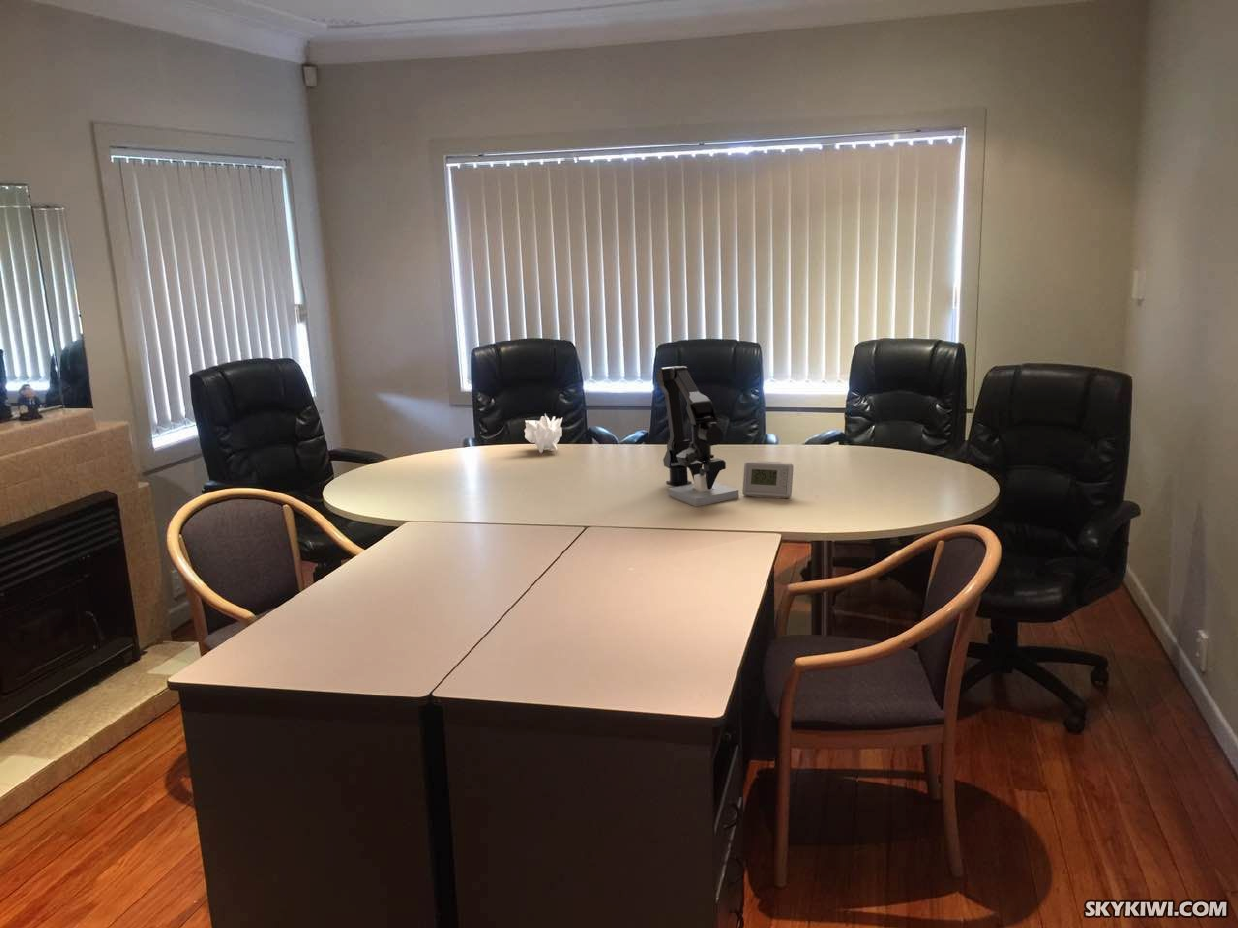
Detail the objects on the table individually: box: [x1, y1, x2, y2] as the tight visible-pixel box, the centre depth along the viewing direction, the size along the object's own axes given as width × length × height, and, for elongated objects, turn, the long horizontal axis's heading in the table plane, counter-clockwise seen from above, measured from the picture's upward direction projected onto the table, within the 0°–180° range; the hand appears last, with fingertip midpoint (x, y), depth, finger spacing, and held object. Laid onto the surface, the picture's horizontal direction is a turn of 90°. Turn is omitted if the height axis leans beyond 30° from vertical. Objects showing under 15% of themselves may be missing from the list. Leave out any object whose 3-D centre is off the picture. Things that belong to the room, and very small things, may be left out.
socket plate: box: [668, 481, 739, 507], centre depth 328 cm, size 16×16×2 cm
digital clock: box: [741, 461, 794, 499], centre depth 325 cm, size 16×9×11 cm, turn 55°
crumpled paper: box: [524, 413, 563, 454], centre depth 408 cm, size 20×17×15 cm
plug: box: [693, 467, 712, 492], centre depth 327 cm, size 4×4×9 cm
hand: (703, 487), depth 328 cm, fingers open, 7 cm apart
